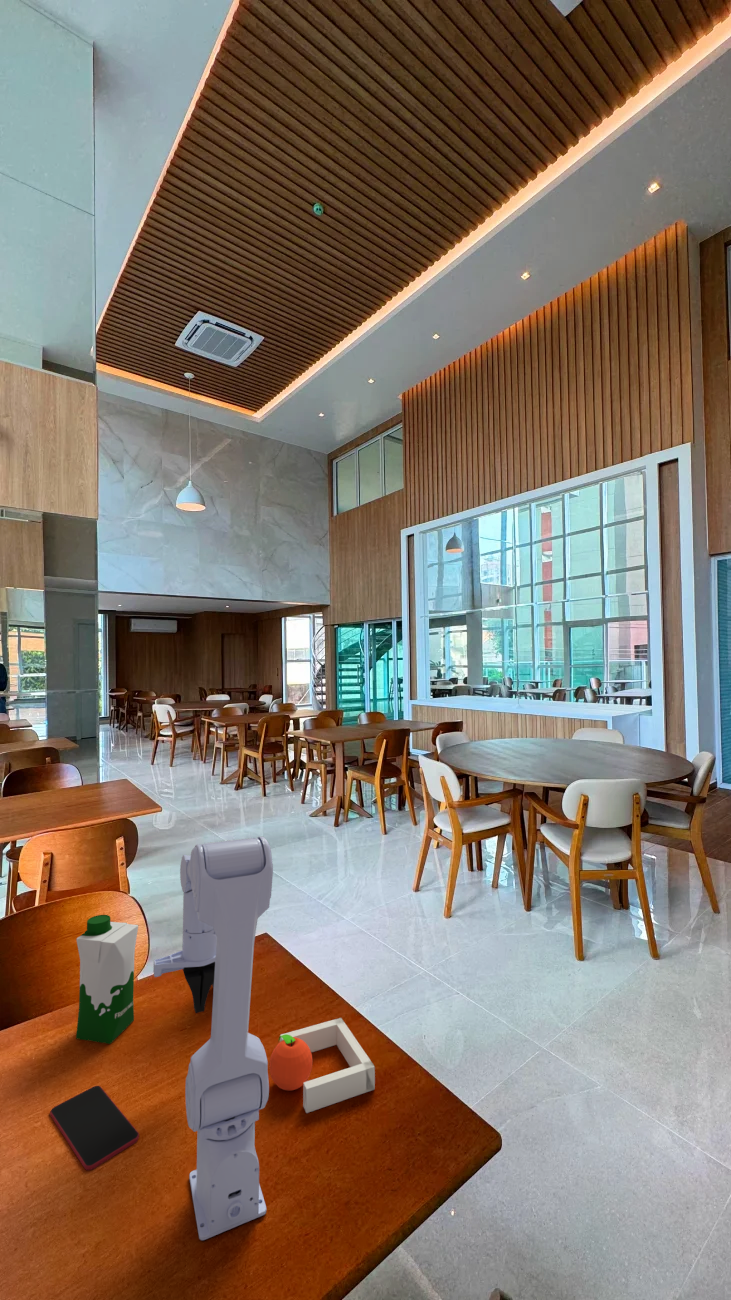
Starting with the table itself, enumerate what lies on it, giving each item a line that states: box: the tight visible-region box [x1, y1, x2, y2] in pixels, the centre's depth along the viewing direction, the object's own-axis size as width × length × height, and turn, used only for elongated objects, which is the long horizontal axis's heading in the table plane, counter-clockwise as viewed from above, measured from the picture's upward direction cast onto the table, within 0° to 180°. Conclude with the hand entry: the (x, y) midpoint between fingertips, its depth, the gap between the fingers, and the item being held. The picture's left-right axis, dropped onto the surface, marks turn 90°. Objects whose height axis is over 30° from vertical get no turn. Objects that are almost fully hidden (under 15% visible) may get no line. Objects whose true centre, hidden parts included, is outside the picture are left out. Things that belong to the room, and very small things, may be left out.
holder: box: [279, 1017, 376, 1114], centre depth 92 cm, size 14×12×4 cm
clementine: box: [268, 1034, 314, 1091], centre depth 89 cm, size 8×7×7 cm
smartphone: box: [49, 1085, 140, 1171], centre depth 80 cm, size 7×1×15 cm
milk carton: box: [75, 914, 139, 1045], centre depth 103 cm, size 9×9×20 cm
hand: (199, 1009), depth 92 cm, fingers closed
